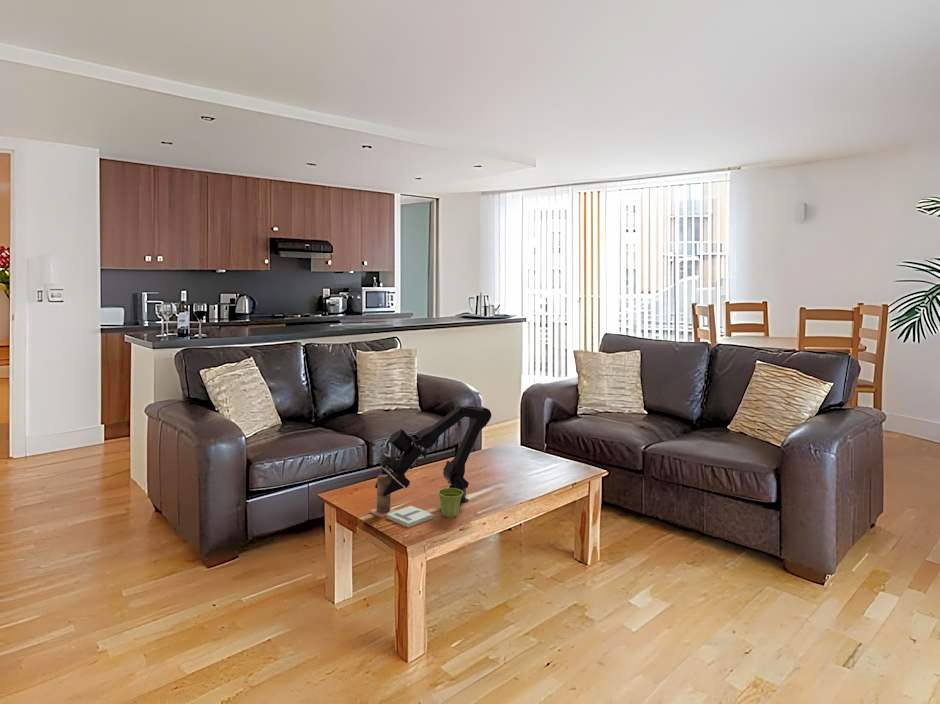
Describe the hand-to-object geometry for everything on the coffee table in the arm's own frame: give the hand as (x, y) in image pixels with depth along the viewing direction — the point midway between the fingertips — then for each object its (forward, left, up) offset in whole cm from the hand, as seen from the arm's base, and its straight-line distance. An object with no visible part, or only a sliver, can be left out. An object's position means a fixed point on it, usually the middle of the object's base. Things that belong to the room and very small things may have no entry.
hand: (379, 491), depth 236 cm
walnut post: (-1, +1, -7) cm, 8 cm away
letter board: (-5, +12, -8) cm, 15 cm away
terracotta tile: (-1, +1, -8) cm, 8 cm away
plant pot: (-18, +20, -9) cm, 28 cm away
